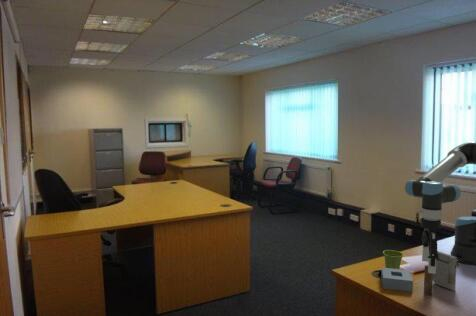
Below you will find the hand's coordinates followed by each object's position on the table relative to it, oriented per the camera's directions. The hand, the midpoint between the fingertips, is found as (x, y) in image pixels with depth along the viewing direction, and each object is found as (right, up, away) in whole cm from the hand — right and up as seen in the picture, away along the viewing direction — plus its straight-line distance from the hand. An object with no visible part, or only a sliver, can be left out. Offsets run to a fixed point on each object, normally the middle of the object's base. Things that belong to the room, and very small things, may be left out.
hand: (428, 267), depth 156 cm
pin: (0, -12, +1) cm, 12 cm away
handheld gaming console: (+11, -11, +8) cm, 18 cm away
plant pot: (-4, -10, +27) cm, 29 cm away
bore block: (-9, -11, +11) cm, 18 cm away
